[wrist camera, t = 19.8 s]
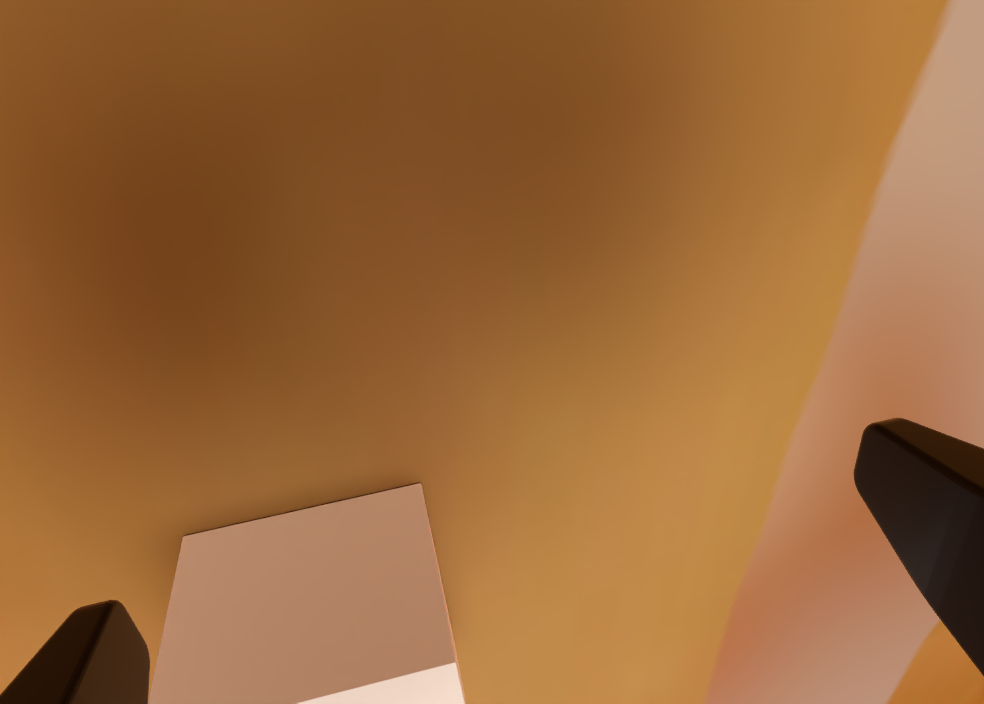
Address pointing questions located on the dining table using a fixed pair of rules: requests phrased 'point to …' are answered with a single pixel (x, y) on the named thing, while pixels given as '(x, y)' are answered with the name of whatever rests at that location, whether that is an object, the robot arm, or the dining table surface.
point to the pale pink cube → (312, 610)
